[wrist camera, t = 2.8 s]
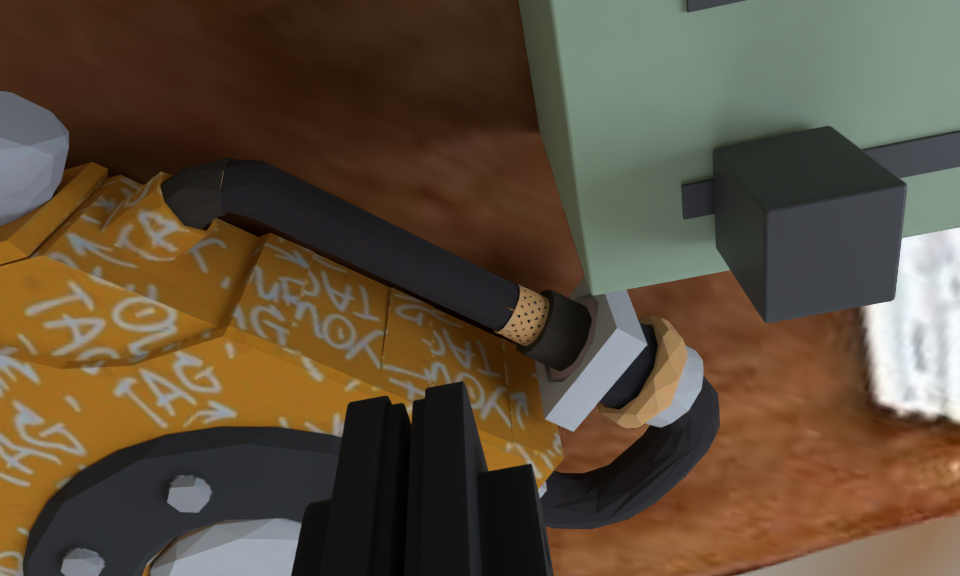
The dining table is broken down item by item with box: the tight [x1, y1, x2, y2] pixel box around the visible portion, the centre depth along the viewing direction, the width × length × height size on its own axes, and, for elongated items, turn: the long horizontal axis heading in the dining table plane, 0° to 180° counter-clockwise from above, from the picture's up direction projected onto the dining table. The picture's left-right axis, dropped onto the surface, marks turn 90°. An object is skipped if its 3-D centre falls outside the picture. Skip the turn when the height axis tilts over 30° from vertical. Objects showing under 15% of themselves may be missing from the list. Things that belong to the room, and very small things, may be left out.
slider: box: [712, 126, 907, 323], centre depth 14 cm, size 2×2×3 cm
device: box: [0, 91, 720, 576], centre depth 28 cm, size 23×8×30 cm
